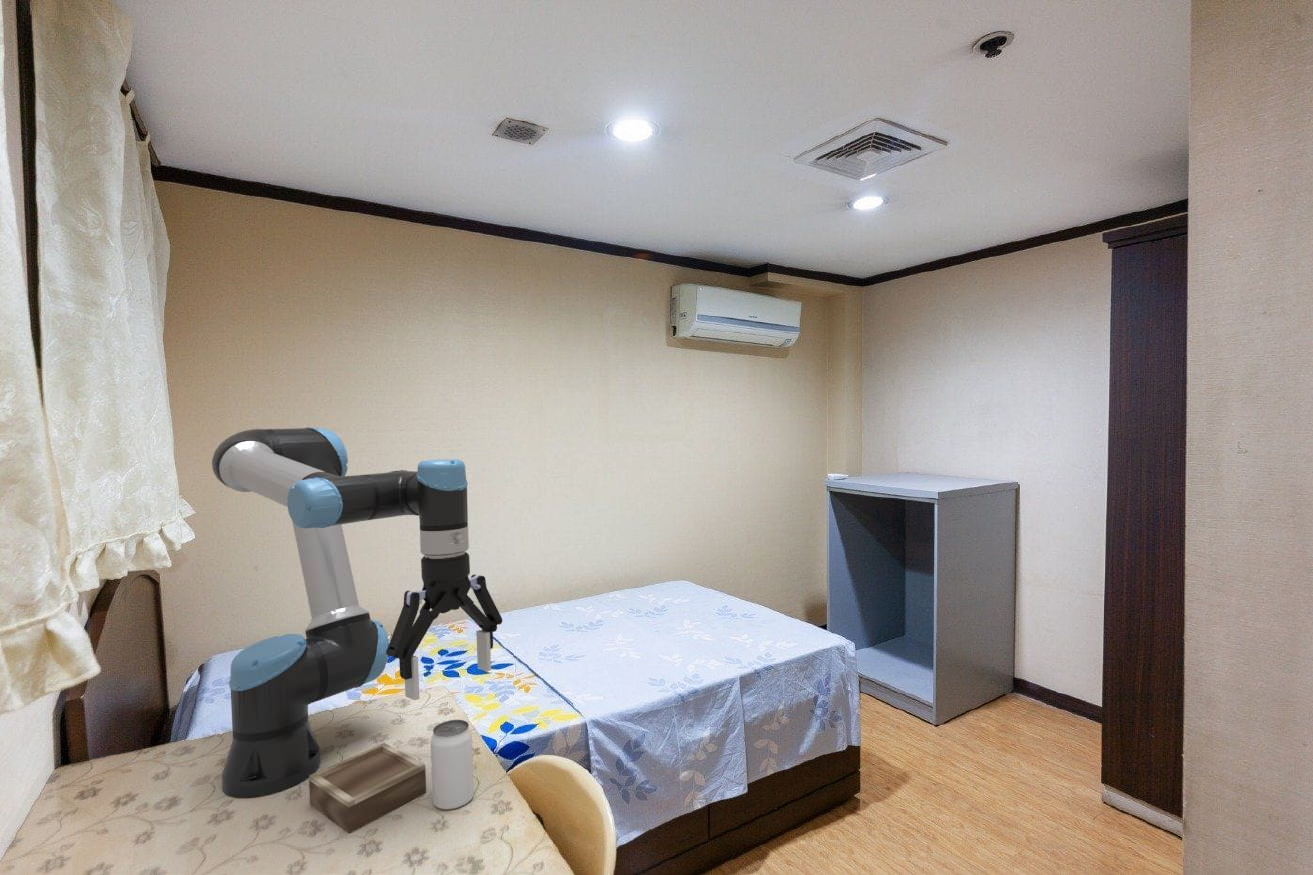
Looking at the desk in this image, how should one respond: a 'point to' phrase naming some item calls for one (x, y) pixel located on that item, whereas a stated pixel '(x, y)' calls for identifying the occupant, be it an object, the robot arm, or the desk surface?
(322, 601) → the robot arm
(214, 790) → the desk surface
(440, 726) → the can
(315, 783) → the wooden tray
